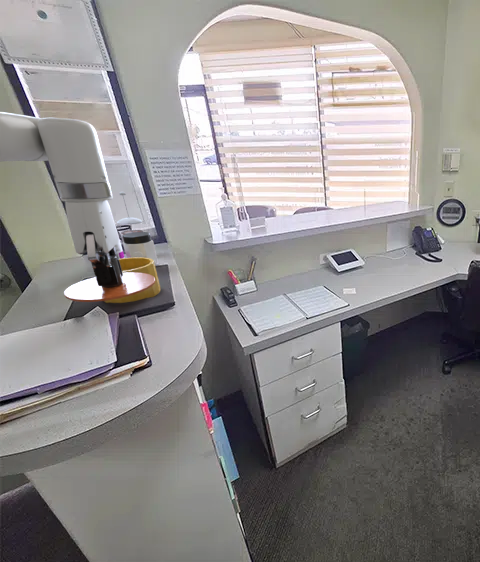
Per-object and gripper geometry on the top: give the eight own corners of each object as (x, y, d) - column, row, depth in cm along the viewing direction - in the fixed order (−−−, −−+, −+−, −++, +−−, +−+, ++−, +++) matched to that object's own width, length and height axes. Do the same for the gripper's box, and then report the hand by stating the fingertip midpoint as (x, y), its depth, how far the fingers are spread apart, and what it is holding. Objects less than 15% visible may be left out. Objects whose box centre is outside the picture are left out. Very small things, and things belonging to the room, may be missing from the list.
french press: (149, 257, 123) (133, 193, 114) (113, 259, 119) (94, 193, 110) (156, 251, 132) (141, 190, 122) (123, 252, 128) (105, 190, 119)
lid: (52, 310, 57) (39, 274, 54) (79, 281, 69) (69, 250, 66) (151, 298, 63) (143, 265, 61) (159, 273, 76) (153, 245, 73)
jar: (126, 270, 109) (117, 237, 105) (132, 263, 116) (123, 232, 112) (156, 268, 113) (149, 236, 108) (160, 261, 120) (153, 231, 115)
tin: (97, 308, 84) (86, 275, 80) (110, 289, 95) (101, 260, 91) (157, 299, 89) (149, 269, 86) (162, 283, 101) (156, 255, 97)
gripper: (75, 187, 64) (99, 270, 71) (39, 197, 50) (74, 299, 57) (120, 187, 67) (139, 267, 74) (98, 197, 53) (125, 293, 60)
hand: (111, 280), depth 65 cm, fingers closed on lid, 3 cm apart
